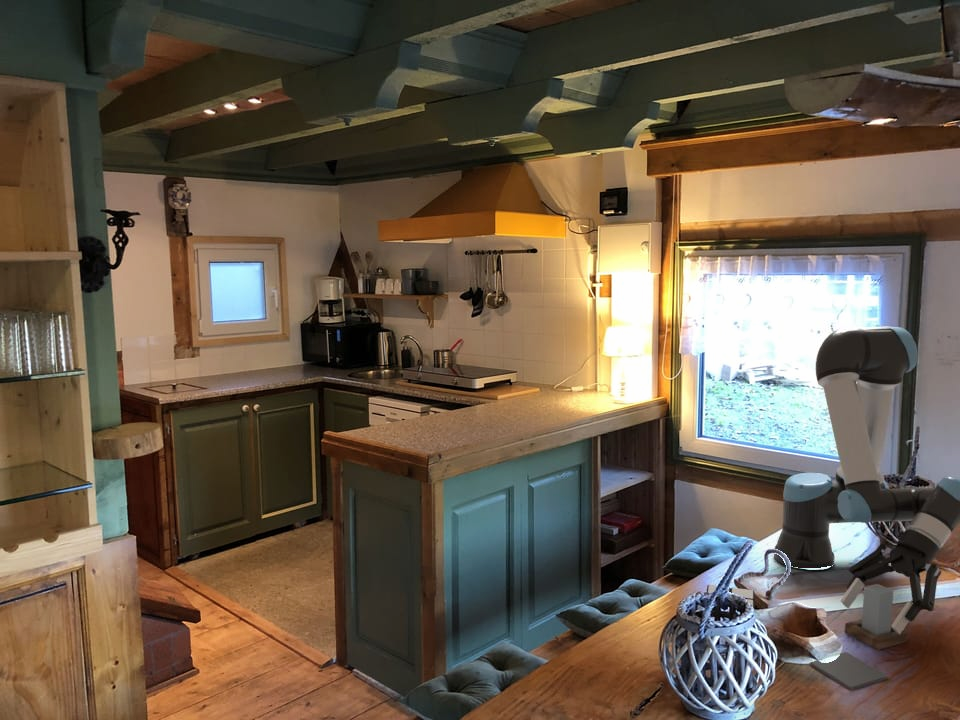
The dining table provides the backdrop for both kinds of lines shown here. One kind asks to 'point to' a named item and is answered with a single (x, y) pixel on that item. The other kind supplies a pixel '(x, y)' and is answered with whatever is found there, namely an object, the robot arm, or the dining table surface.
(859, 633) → the frame
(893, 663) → the dining table surface
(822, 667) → the rubber pad
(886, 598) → the slate block
